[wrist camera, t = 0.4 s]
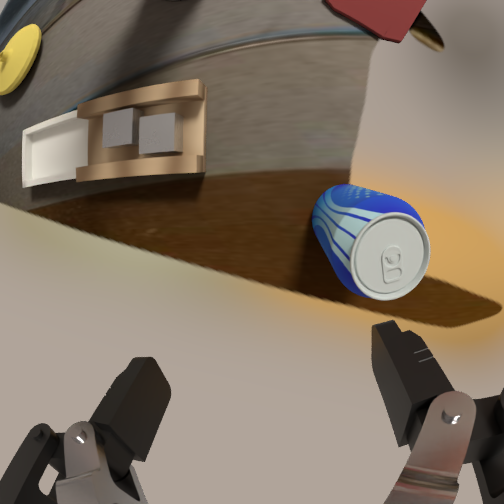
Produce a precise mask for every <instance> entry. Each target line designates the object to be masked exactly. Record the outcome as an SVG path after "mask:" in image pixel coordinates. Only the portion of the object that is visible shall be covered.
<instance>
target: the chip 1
mask: <svg viewBox="0 0 504 504" xmlns="http://www.w3.org/2000/svg"><path fill="white" fill-rule="evenodd" d="M140 117H144V111H141V110H138V109H135V108H129V109H124V110H119V111H115V112H110V113H106V114H103V138H102V148H113V149H115V148H122V147H129V146H137V145H139V124H140Z"/></svg>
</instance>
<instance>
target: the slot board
mask: <svg viewBox="0 0 504 504" xmlns="http://www.w3.org/2000/svg"><path fill="white" fill-rule="evenodd" d="M129 108H135V109H138V110H141V111H144V117H145V116H152V115H159V114H167V113H177V114H179V115H181V116H183V117H184V120H183V152H176V153H163V154H151V155H147V154H139V145H137V146H129V147H122V148H115V149H113V148H102V138H103V114H106V113H110V112H115V111H119V110H124V109H129ZM206 117H207V87H206V86H205V85H204V84H203V83H202V82H201V81H200V80H199V79H194V80H185V81H178V82H171V83H164V84H158V85H153V86H147V87H142V88H137V89H133V90H128V91H124V92H120V93H116V94H112V95H108V96H104V97H101V98H97V99H94V100H90V101H87V102H84V103H81V104H78V108H77V118H80V119H87V120H89V123H88V166H83V167H77V168H76V182H82V181H90V180H98V179H108V178H118V177H129V176H142V175H157V174H175V173H199V172H206Z"/></svg>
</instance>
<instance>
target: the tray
mask: <svg viewBox="0 0 504 504" xmlns="http://www.w3.org/2000/svg"><path fill="white" fill-rule="evenodd" d="M88 123H89V120H87V119H80V118H77V110H75V111H72V112H69V113H66V114H63V115H61V116H58V117H55V118H52V119H50V120H47V121H44V122H42V123H39V124H37V125H35V126H32V127H30V128H27V129H25V130H23V140H22V180H23V188H24V187H29V186H34V185H39V184H45V183H50V182H56V181H62V180H69V179H75V178H76V168H77V167H83V166H88Z"/></svg>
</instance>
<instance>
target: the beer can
mask: <svg viewBox="0 0 504 504" xmlns="http://www.w3.org/2000/svg"><path fill="white" fill-rule="evenodd" d="M312 225H313V229H314V232H315V235H316V237H317V238H318V240H319V242H320V244H321V246H322V248H323V250H324V252H325V253H326V255H327V257H328V259H329V261H330V263H331V265H332V267H333V269H334V271H335V273H336V275H337V276H338V278H339V280H340V281H341V282H342V283H343V284H344V285H345V287H347V288H348V289H349V290H350V291H352V292H354V293H355V294H358V295H360V296H363V297H368V298H373V299H377V300H393V299H396V298H399V297H402V296H404V295H405V294H407V293H409V292H410V291H411V290H412V289H414V288H415V287H416V286H417V284H418V283H419V282H420V281H421V279H422V278H423V276H424V274H425V272H426V270H427V267H428V264H429V260H430V242H429V238H428V235H427V233H426V231H425V228H424V225H423V222H422V220H421V218H420V216H419V215H418V213H417V212H416V211H415V209H414V208H413V207H411V206H410V205H409V204H408V203H407V202H405V201H403V200H402V199H399V198H397V197H393V196H390V195H387V194H383V193H380V192H376V191H373V190H370V189H366V188H362V187H358V186H354V185H350V184H342V185H337V186H334V187H332V188H330V189H328V190H327V191H325V192H324V193H323V194H322V195H321V196H320V197H319V199H318V200H317V202H316V204H315V206H314V209H313V213H312Z"/></svg>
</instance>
